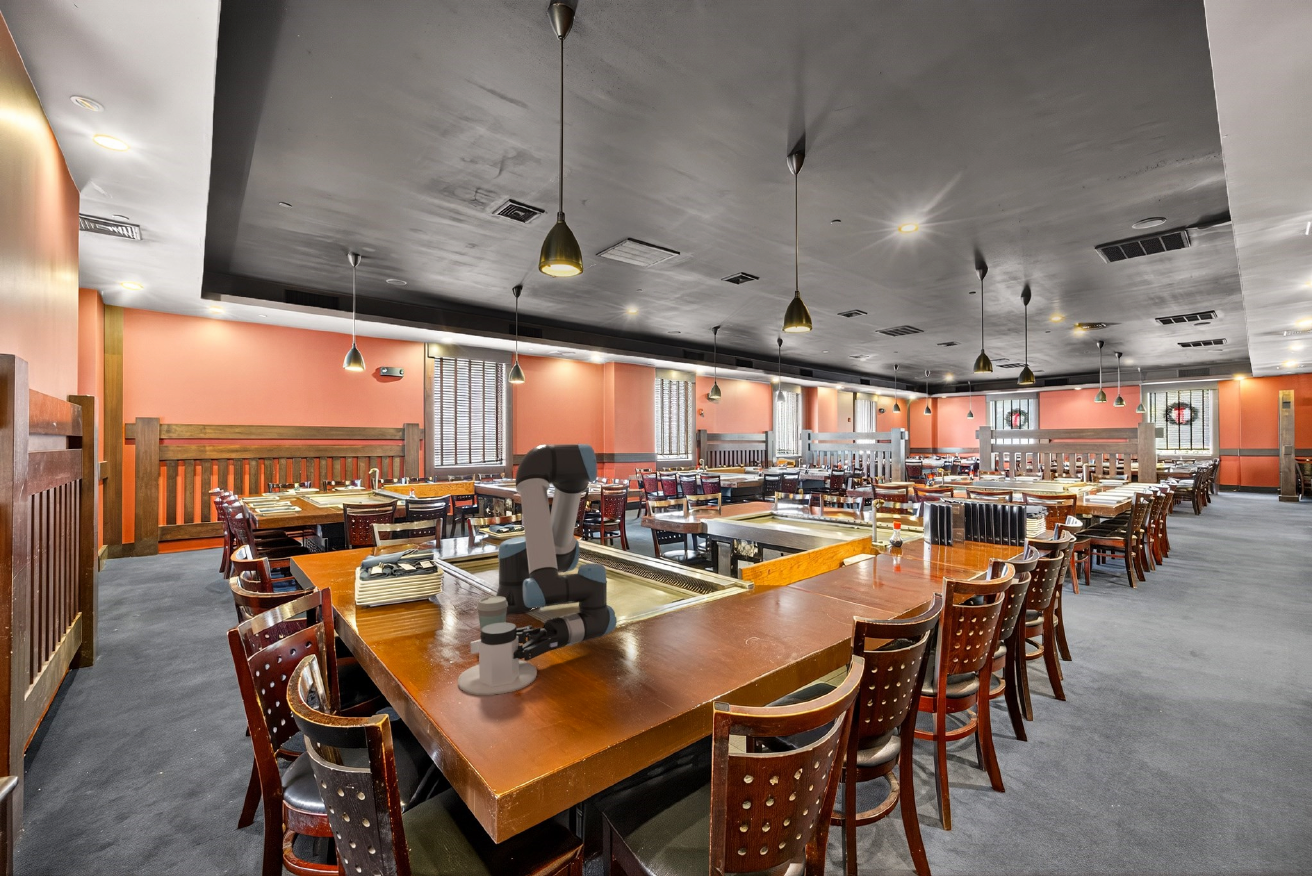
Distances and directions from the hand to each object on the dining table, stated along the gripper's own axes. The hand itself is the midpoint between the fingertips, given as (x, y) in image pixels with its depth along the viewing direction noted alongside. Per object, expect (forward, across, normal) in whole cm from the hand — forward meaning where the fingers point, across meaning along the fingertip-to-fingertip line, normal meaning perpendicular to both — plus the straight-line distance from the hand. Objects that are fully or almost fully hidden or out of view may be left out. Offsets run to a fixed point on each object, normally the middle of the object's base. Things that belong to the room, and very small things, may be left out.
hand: (480, 653), depth 133 cm
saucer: (-4, 0, -7) cm, 8 cm away
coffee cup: (-14, +24, -7) cm, 29 cm away
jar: (-3, -3, -6) cm, 8 cm away
